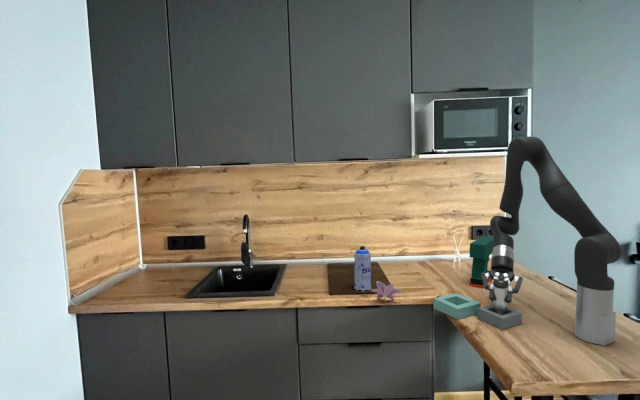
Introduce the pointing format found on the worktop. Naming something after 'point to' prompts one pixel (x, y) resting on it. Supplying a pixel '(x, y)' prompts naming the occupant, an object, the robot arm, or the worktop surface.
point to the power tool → (480, 260)
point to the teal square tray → (456, 306)
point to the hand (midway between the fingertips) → (500, 301)
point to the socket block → (500, 317)
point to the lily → (385, 291)
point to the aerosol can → (362, 269)
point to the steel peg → (500, 295)
